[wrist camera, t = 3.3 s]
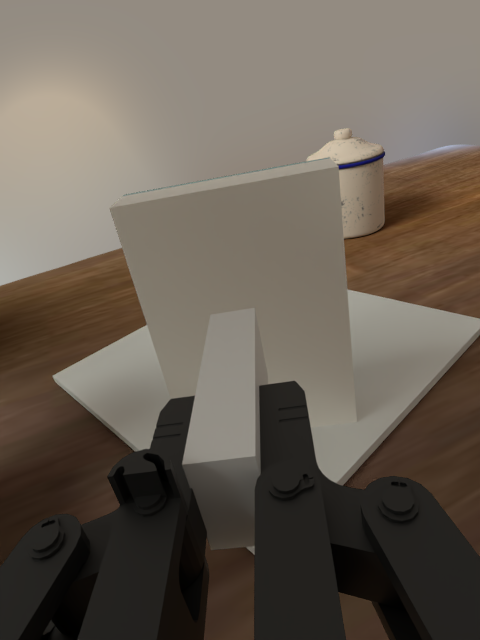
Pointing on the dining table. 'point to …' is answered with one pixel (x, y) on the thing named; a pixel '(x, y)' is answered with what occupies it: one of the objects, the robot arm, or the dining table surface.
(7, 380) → the dining table surface
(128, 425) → the mat
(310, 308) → the tile
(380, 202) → the teacup with lid
